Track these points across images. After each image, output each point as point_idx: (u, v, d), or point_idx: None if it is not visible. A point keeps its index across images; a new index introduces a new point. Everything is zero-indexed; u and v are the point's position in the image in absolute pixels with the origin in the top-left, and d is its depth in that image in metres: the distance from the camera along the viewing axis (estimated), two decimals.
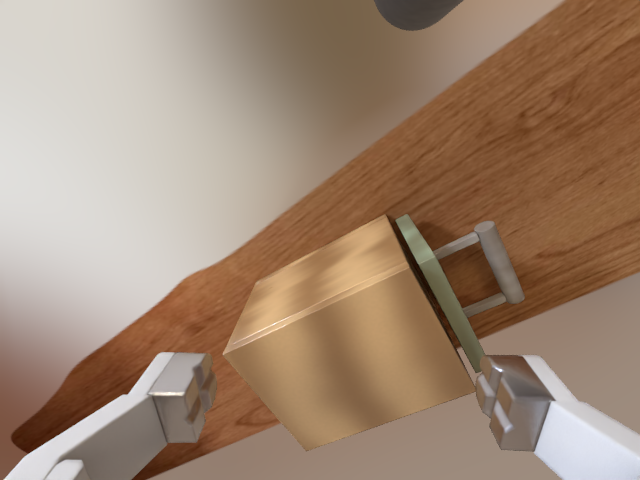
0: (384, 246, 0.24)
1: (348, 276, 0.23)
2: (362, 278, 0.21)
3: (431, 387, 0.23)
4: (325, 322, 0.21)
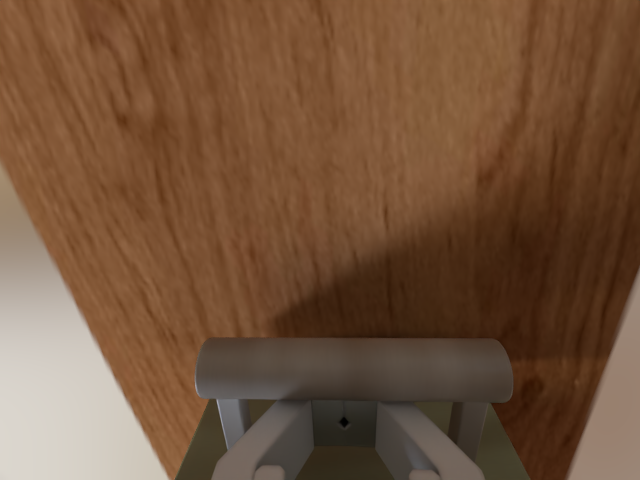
0: None
1: None
2: None
3: None
4: None
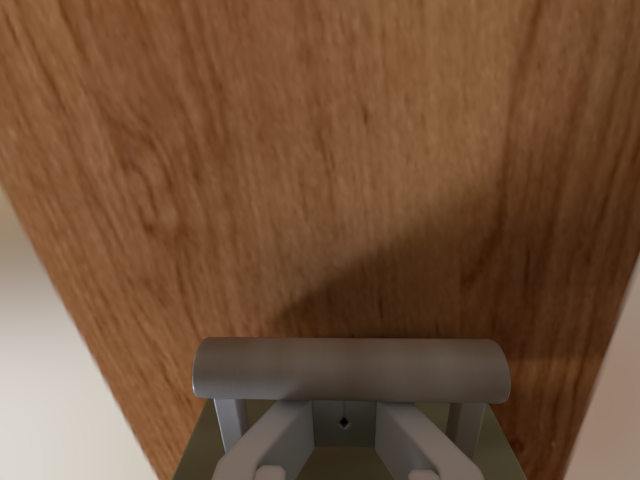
0: None
1: None
2: None
3: None
4: None
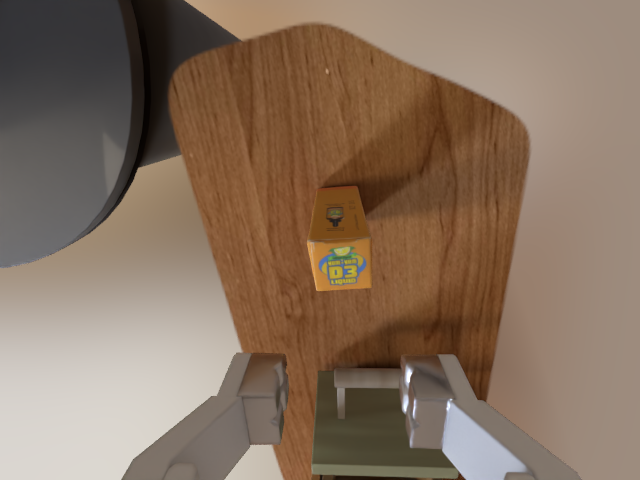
0: None
1: None
2: None
3: None
4: None
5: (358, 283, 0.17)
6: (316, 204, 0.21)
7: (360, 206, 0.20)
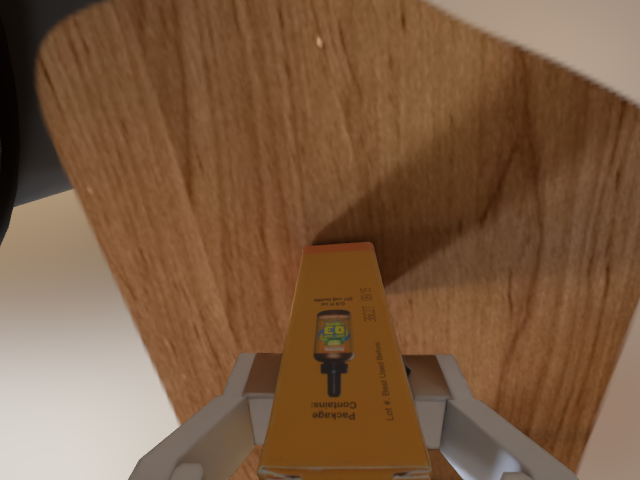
0: None
1: None
2: None
3: None
4: None
5: None
6: (298, 296, 0.11)
7: (385, 309, 0.10)
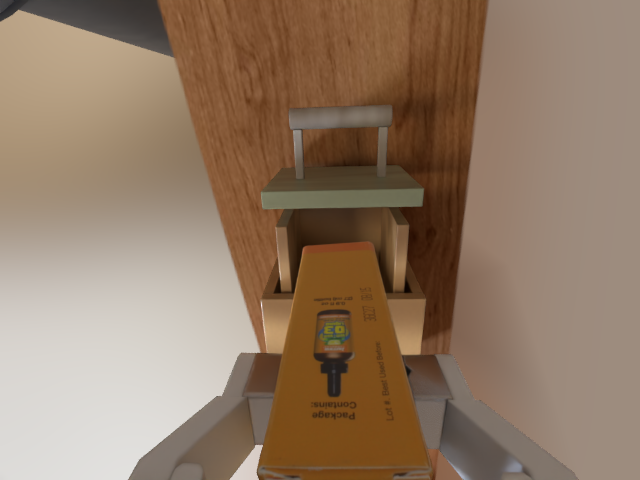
0: None
1: None
2: None
3: (397, 331, 0.23)
4: None
5: None
6: (298, 296, 0.11)
7: (385, 309, 0.10)
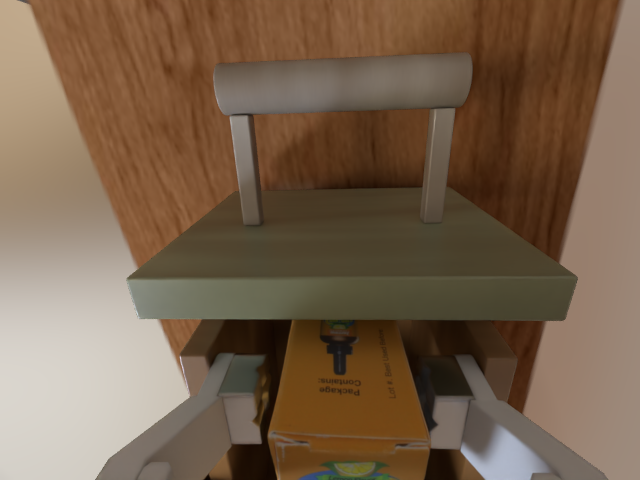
0: None
1: None
2: None
3: None
4: None
5: None
6: None
7: None
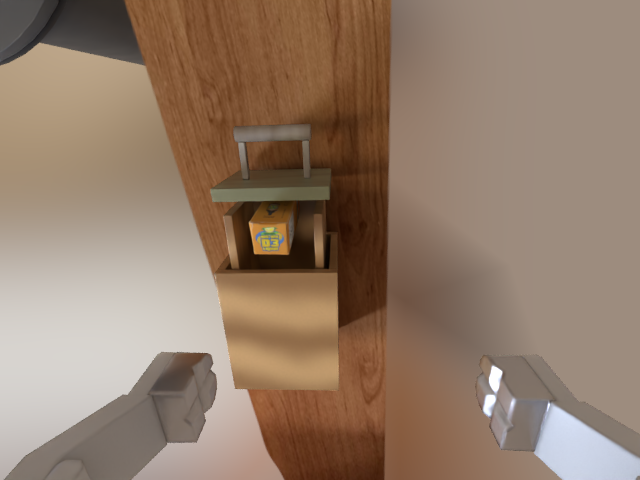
0: None
1: None
2: None
3: (318, 298, 0.31)
4: (235, 330, 0.32)
5: (279, 251, 0.27)
6: None
7: (291, 204, 0.31)
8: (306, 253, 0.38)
